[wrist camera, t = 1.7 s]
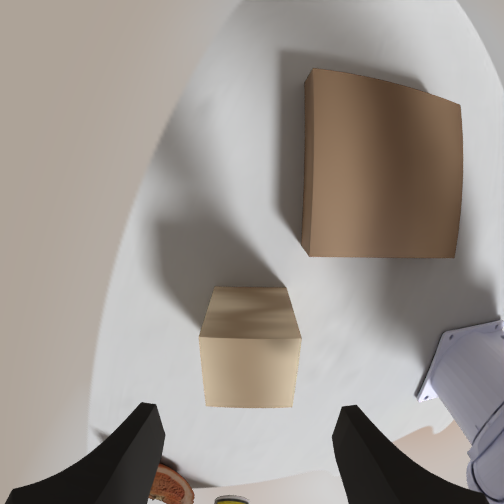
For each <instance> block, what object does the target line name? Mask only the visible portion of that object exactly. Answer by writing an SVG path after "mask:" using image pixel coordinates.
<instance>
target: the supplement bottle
mask: <svg viewBox="0 0 504 504" xmlns="http://www.w3.org/2000/svg"><path fill="white" fill-rule="evenodd" d="M215 504H250V501H249V500H248V499H246V498H244V497H241V496H232V495H227V496H220V497H217V498H216V499H215Z"/></svg>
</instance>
